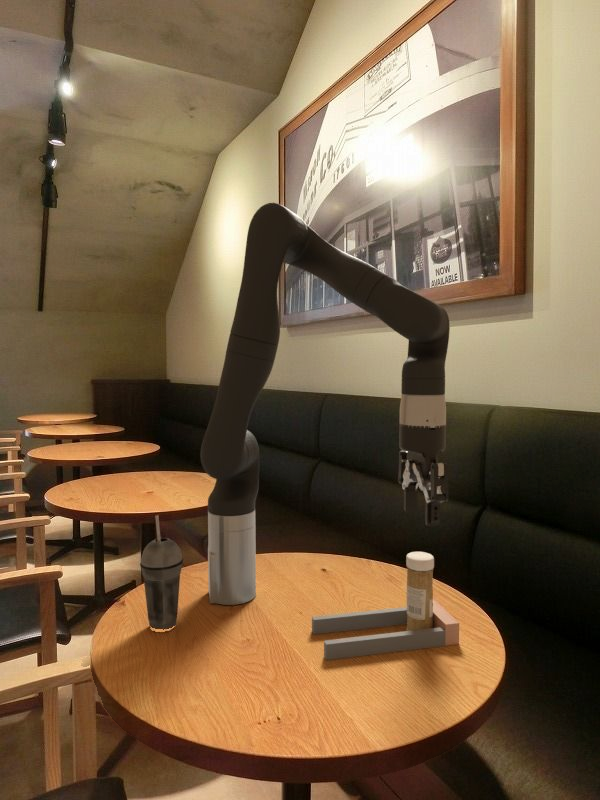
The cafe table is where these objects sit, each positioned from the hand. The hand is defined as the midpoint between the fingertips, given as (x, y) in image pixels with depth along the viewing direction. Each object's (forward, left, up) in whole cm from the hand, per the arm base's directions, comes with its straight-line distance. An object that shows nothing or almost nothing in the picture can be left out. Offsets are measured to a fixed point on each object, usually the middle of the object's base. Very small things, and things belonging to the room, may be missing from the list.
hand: (421, 518), depth 90 cm
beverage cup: (-43, +12, -20) cm, 49 cm away
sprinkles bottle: (0, 0, -20) cm, 20 cm away
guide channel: (-7, 0, -20) cm, 21 cm away
